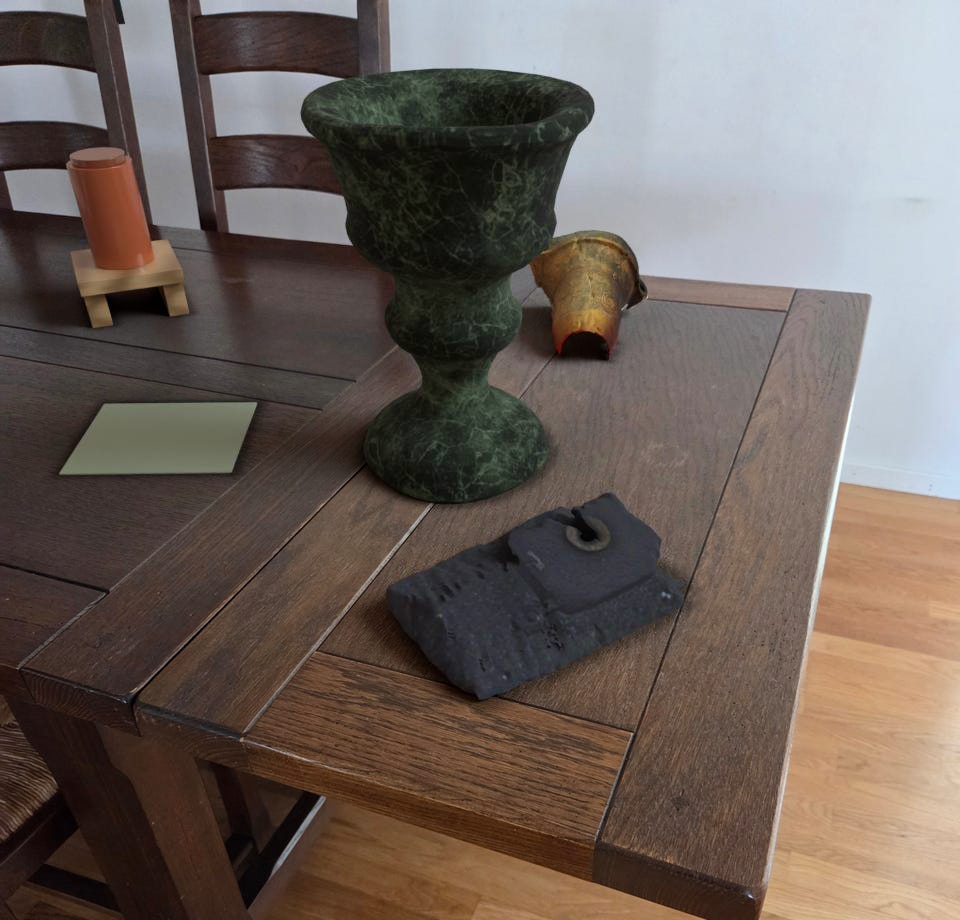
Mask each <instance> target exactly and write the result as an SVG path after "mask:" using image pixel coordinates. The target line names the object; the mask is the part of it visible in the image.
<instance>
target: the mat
mask: <svg viewBox="0 0 960 920" xmlns="http://www.w3.org/2000/svg"><path fill="white" fill-rule="evenodd" d="M257 405H258V402H256V401H253V402H252V401H251V402H250V401H247V402H246V401H244V402H242V401H241V402H240V401H239V402H233V401H232V402H154V403H153V402H147V403H146V402H145V403H144V402H143V403H142V402H141V403H139V402H138V403H137V402H136V403H134V402H133V403H132V402H131V403H129V402H128V403H103V405H102V406H101V408H100V409H99V411H98V412H97V414H96V416H95V417H94V418H93V420H92V422H91V424H89V427H87V429H86V432H85V433H84V435H82V436H81V439H80V440H79V442H78V443H77V445H76V446H75V448H74V450H73V451H72V453H71V454H70V456H69V457H68V459H67V461H66V462H65V463H64V465H63V466H62V468H61V470H60V472H58V475H59V476H84V475H85V476H86V475H89V476H91V475H93V476H95V475H97V476H98V475H99V476H101V475H167V474H168V475H178V474H179V475H182V474H184V475H185V474H186V475H187V474H188V475H189V474H193V475H195V474H232V473H233V470H234V467H235V465H236V462H237V459H238V456H239V454H240V451H241V448H242V446H243V443H244V440H245V439H246V435H247V433H248V430H249V426H250V424H251V422H252V419H253V416H254V413H255V411H256V408H257Z"/></svg>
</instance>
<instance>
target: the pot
mask: <svg viewBox="0 0 960 920" xmlns="http://www.w3.org/2000/svg"><path fill="white" fill-rule="evenodd" d="M528 265H529V266H528V268H529V269H530V272H531V274H532V276H533V280H534V284H535V286H536V287H537V288H538V289H541V290H542V291H543V293H544V295H545V296H546V299H548V303H549V305H550V307H551V320H552V324H551V333H552V336H553V340H554V345H555V349H556V350H557V353H558V356H559V357H561V353H562V347H563V344H564V342H565V340H566V339H567V338H568V337H569V336H570V335H572V334H578V333H582V332H585V333H587V332H588V333H591V334H595V335H596V336H599V337H600V338H602V339H603V340H604V341H605V343H606V348H607V352H606V355H605V358H606V360H607V361H609V360H610V356H611V354H612V353H613V349H614V347H615V346H616V345H617V342H618V337H619V330H620V327H621V321H622V313H623V312H622V311H623V310H624V309H625V310H626V311H630V310H631V309H634V308H635V307H637V306H638V305H639V304H641V303H642V301H646V300H648V298H649V291H648V288H647V286H646V283H645V282H644V281H643V280H642V279H641V277H640V276H641V275H640V266H639V262H638V259H637V256H636V254H635V252H634V251H633V249H632V248H631V246H630V245H629V243H628V242H627V241H626V240H625V239H624V238H623V237H621V236H620V235H619V234H616V233H614V232H610V231H604V230H598V229H597V230H596V229H592V230H591V229H589V230H585V229H584V230H578V231H574V232H570V233H568V234H562V235H559V236H555V237H554V236H553V238H552V240H551V241H550V243H549V245H548V246H547V247H546V249H545V250H544V251H543V252H542V253H541V254H540V255H539V256H538V257H537V258H536V259H534V260H533V261H532V262H531V263H529V264H528Z"/></svg>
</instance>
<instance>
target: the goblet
mask: <svg viewBox="0 0 960 920" xmlns="http://www.w3.org/2000/svg"><path fill="white" fill-rule="evenodd" d="M595 111H596V107H595V101H594V98H593V96H592V94H591V93H590V92H589V90H587V89H585V88H584V87H583V86H581V85H579V84H577V83H574V82H572V81H569V80H564V79H561V78H557V77H553V76H548V75H543V74H537V73H529V72H522V71H512V70H504V69H503V70H502V69H492V68H474V67H470V68H469V67H464V68H463V67H461V68H459V67H455V68H453V67H451V68H450V67H449V68H444V67H443V68H441V67H439V68H438V67H437V68H423V69H422V68H421V69H408V70H407V69H406V70H397V71H396V70H395V71H387V72H380V73H373V74H365V75H364V74H363V75H357V76H352V77H347V78H344V79H339V80H336V81H331V82H328V83H326V84H324V85H321V86H319V87H316V88H315V89H313V90H312V91H310V92H309V93H308V94H307V95H306V96H305V97H304V98H303V100H302V104H301V108H300V112H299V113H300V120H301V123H302V125H303V126H304V128H305V129H306V131H307V133H309V134H310V135H311V136H312V137H314V138H315V139H317V140H318V141H319V142H320V144H321V145H322V147H323V148H324V150H325V151H326V154H327V156H328V159H329V162H330V164H331V166H332V168H333V172H334V173H335V177H336V180H337V183H338V186H339V189H340V191H341V195H342V197H343V200H344V204H345V209H346V217H345V223H344V225H345V226H344V227H345V231H346V235H347V238H348V240H349V241H350V242H349V243H351V245H352V247H353V248H354V249H355V250H356V251H357V252H358V254H359V255H360V256H361V257H362V258H364V260H366V261H367V262H368V263H370V264H371V265H373V266H374V267H376V268H377V269H379V270H381V271H382V272H385V273H387V274H390V275H392V277H393V279H394V284H395V289H394V296H393V297H392V298H391V299H390V300H389V301H388V303H387V304H386V307H385V309H384V324H385V328H386V330H387V333H388V334H389V336H390V337H391V339H392V341H393V342H394V343H395V344H396V345H397V346H398V347H399V349H401V350H403V351H405V353H408V354H410V355H411V356H412V358H413V360H414V361H415V363H416V364H417V367H418V369H419V371H420V375H421V383H420V387H417V388H415V389H412V390H410V391H408V392H406V393H404V394H402V395H400V396H399V397H397V398H395V399H393V400H392V401H390V402H389V403H388V404H386V405H385V406H384V407H383V408H382V409H381V410H380V412H378V414H377V415H376V416H375V418H373V420H372V422H371V424H370V426H369V428H368V430H367V431H366V432H367V433H366V437H365V440H364V443H363V456H364V461H365V462H366V463H367V465H368V467H369V469H370V470H371V471H372V473H373V474H375V476H377V477H378V478H379V479H380V480H382V481H383V482H385V483H386V484H387V485H389V486H390V487H392V488H393V489H395V490H397V491H398V492H401V493H402V494H404V495H406V496H409V497H411V498H414V499H416V500H419V501H425V502H430V503H434V504H435V503H436V504H464V503H474V502H479V501H481V500H485V499H488V498H491V497H494V496H498V495H501V494H503V493H505V492H507V491H509V490H511V489H512V488H513V489H514V488H515V487H517V486H519V485H520V484H522V483H524V482H526V481H527V480H529V479H531V478H532V477H534V476H535V475H536V474H537V473H538V472H539V470H540V469H541V468H542V467H543V466H544V464H545V462H546V460H547V459H548V455H549V452H550V444H549V439H548V435H547V432H546V430H545V426H544V425H543V423H542V421H541V420H540V418H539V417H538V415H537V414H536V412H534V410H532V408H530V406H528V404H527V403H525V401H522V400H521V399H519V398H518V397H517V396H515V395H512V394H511V393H509V392H507V391H505V390H503V389H502V388H500V387H496V386H494V385H491V384H490V383H489V372H490V369H491V367H492V364H493V362H494V361H495V359H496V357H497V355H498V354H499V353H500V352H502V351H503V350H505V349H506V348H507V347H508V346H510V345H511V343H512V342H513V341H514V340H515V338H516V337H517V336H518V334H519V331H520V329H521V327H522V322H523V309H522V306H521V305H520V302H519V300H517V299H516V298H515V296H513V293H512V290H511V277H512V275H513V274H514V273H516V272H518V271H520V270H522V269H524V268H526V267H527V266H528V265H529V263H531V262H532V261H533V260H534V259H536V258H537V257H538V256H539V255H540V254H541V253H542V252H543V251H544V250H545V249H546V247H547V246H548V245H549V243H550V241H551V240H552V238H554V235H555V232H556V228H557V225H558V221H557V215H556V211H555V207H556V199H557V194H558V191H559V189H560V185H561V182H562V178H563V176H564V173H565V170H566V167H567V164H568V159H569V156H570V154H571V151H572V148H573V146H574V145H575V142H576V140H577V138H578V136H579V135H580V134H581V133H583V131H584V130H586V129H587V128H588V126H589V125H590V124H591V122H592V121H593V118H594V116H595Z"/></svg>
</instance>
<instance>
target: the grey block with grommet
mask: <svg viewBox="0 0 960 920" xmlns="http://www.w3.org/2000/svg"><path fill="white" fill-rule="evenodd" d="M662 541H663V540H662V538H661V536H659V535H658V534H657V532H656V531H655V530H654V529H653V528H652V527H651V526H650V525H649V524H647V523H646V522H644V521H643V520H642V519H640V518H638V517H637V516H636V515H635V514H633V513H631V512H630V511H629V510H628V509H627V507H625V504H624V502H623V501H621V500H620V498H619V497H617V495H616V493H614V492H613V493H612V492H604V493H602V494H600V495H599V496H598V497H595V498H593V499H590V500H588V501H586V502H583V504H582V505H575V506H573V507H572V508H571V509H570V508H567V507H564V506H558V507H556V508H554V509H552V510H547V511H545V512H541V513H540V514H538V515H535V516H533V517H531V518H529V519H528V520H526V521H524V522H522V523H521V524H518V525H517V526H515V527H513V528H511V529H510V530H508V531H506V532H505V533H503V534H502V535H500V536H499V537H497V538H496V539H494V540H492V541H490V542H487V543H486V544H482V543H476V544H475V545H474V546H471V547H467V548H464V549H463V550H462V551H461V550H460V552H458V553H456V554H455V555H452V556H451V557H448V558H445V559H442V560H440V561H439V562H437V563H436V564H435V565H433V566H431V567H430V568H427V569H425V570H422V571H417V572H414V573H413V574H409V575H408V576H405V577H403V578H401V579H399V580H397V581H396V582H394V583H391V584H389V585H388V586H387V588H386V590H385V602H386V607H387V609H388V610H389V611H390V612H391V614H392V615H393V616H394V617H395V618H396V620H397V621H398V622H399V624H400V625H401V627H402V629H403V632H404V633H406V634H407V636H408V637H409V638H411V639H412V640H413V641H414V642H415V644H417V645H418V646H419V647H420V649H421V650H422V652H423V653H424V655H425V657H426V659H427V661H428V662H429V663H431V664H432V665H434V667H436V668H437V669H438V670H439V671H440V672H441V673H442V674H443V675H445V676H446V678H447V679H448V681H450V683H451V684H452V685H453V686H455V687H458V688H459V689H460V690H462V691H464V692H466V693H469V694H473V695H476V696H477V697H478V700H480V701H481V700H486V699H490V698H492V697H494V696H497V695H498V696H499V695H502V694H505V693H507V692H509V691H512V690H514V689H516V688H520V687H522V685H523V684H524V683H527V682H535V681H537V680H538V679H539V678H540V677H542V676H547V675H550V674H551V673H554V671H555V670H560V669H562V668H565V667H566V666H568V665H570V664H572V663H575V662H577V661H579V660H581V659H583V658H584V657H587V656H590V655H591V654H593V653H594V652H596V651H598V650H599V649H602V648H604V647H607V646H609V645H610V644H612V643H614V642H617V641H619V640H621V639H624V638H625V637H627V636H629V635H630V634H633V633H635V632H637V631H639V629H641V628H643V627H646V626H648V625H651V624H653V623H655V622H656V621H657V620H659V619H661V618H662V619H663V617H666V616H668V615H670V614H672V613H673V612H675V611H676V610H679V609H680V608H681V607H682V606H683V604H684V602H685V597H684V596H683V595H682V594H681V593H680V591H681V590H682V589H683V588H684V584H682V583H681V581H680V580H678V579H676V578H674V577H672V576H671V575H669V574H666V573H665V572H663V571H662V570H661V569H659V568H658V567H657V565H656V564H657V560H658V559H659V558H660V556H661V546H662Z"/></svg>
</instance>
